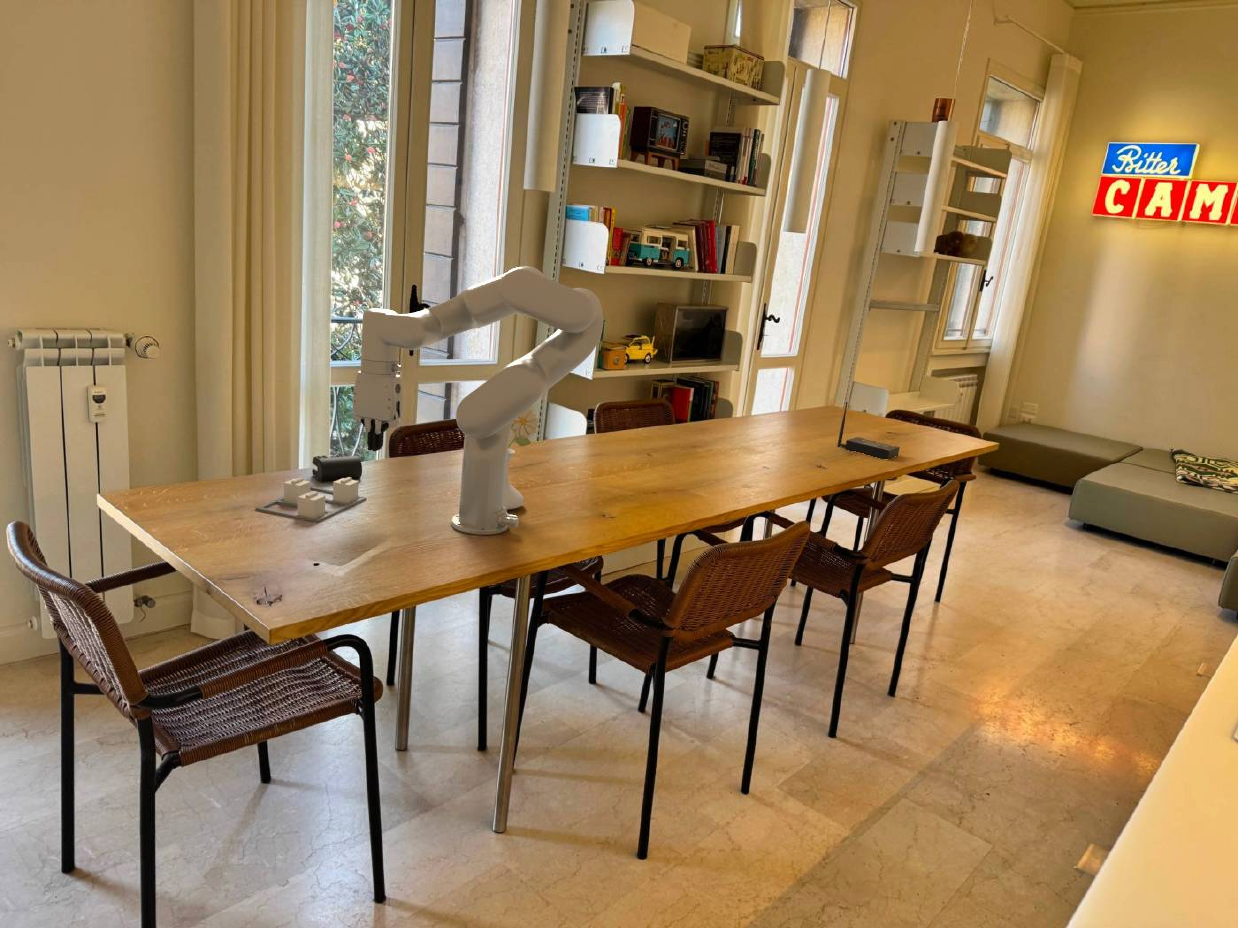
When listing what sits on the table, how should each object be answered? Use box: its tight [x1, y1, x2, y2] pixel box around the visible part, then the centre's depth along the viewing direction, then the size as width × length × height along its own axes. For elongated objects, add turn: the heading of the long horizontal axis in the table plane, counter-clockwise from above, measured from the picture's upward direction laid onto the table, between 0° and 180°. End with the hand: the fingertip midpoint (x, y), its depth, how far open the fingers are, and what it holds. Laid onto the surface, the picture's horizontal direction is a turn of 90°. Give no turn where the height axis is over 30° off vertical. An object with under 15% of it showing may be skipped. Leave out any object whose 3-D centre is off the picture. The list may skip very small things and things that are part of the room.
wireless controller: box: [837, 401, 900, 460], centre depth 313 cm, size 20×14×17 cm
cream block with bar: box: [332, 477, 360, 503], centre depth 196 cm, size 4×4×5 cm
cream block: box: [297, 490, 326, 519], centre depth 184 cm, size 4×4×5 cm
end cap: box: [311, 453, 363, 484], centre depth 211 cm, size 10×7×7 cm
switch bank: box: [254, 485, 367, 524], centre depth 192 cm, size 20×19×2 cm
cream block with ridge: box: [283, 477, 311, 504], centre depth 192 cm, size 4×4×5 cm
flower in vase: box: [503, 407, 539, 511], centre depth 206 cm, size 13×11×25 cm
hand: (374, 449), depth 192 cm, fingers closed
